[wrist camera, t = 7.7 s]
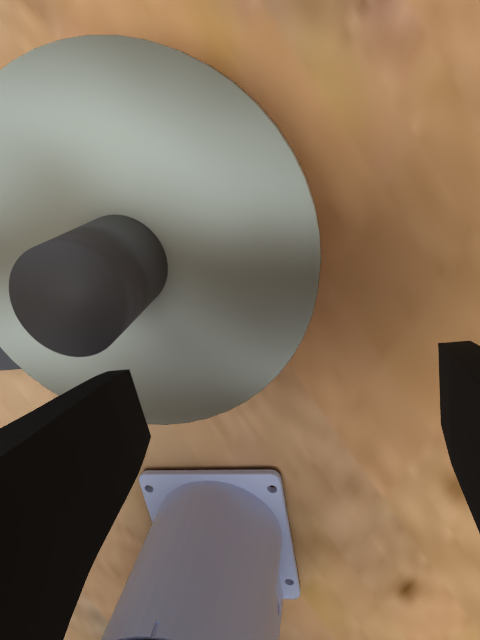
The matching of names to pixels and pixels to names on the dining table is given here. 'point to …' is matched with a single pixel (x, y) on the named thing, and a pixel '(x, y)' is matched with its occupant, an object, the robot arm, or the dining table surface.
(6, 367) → the mat
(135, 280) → the lid
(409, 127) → the dining table surface
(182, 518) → the robot arm
